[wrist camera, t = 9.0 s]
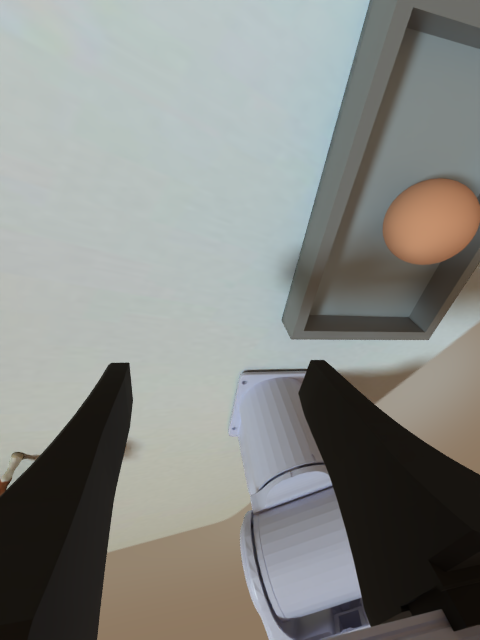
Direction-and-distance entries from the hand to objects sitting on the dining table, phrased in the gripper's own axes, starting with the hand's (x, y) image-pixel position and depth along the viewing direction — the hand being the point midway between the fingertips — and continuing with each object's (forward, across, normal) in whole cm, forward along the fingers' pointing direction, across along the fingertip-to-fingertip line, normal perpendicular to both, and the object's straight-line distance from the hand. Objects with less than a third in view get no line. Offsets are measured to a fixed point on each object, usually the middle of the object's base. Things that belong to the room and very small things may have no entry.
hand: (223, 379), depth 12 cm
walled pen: (+10, -13, -5) cm, 17 cm away
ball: (+8, -13, -5) cm, 16 cm away
